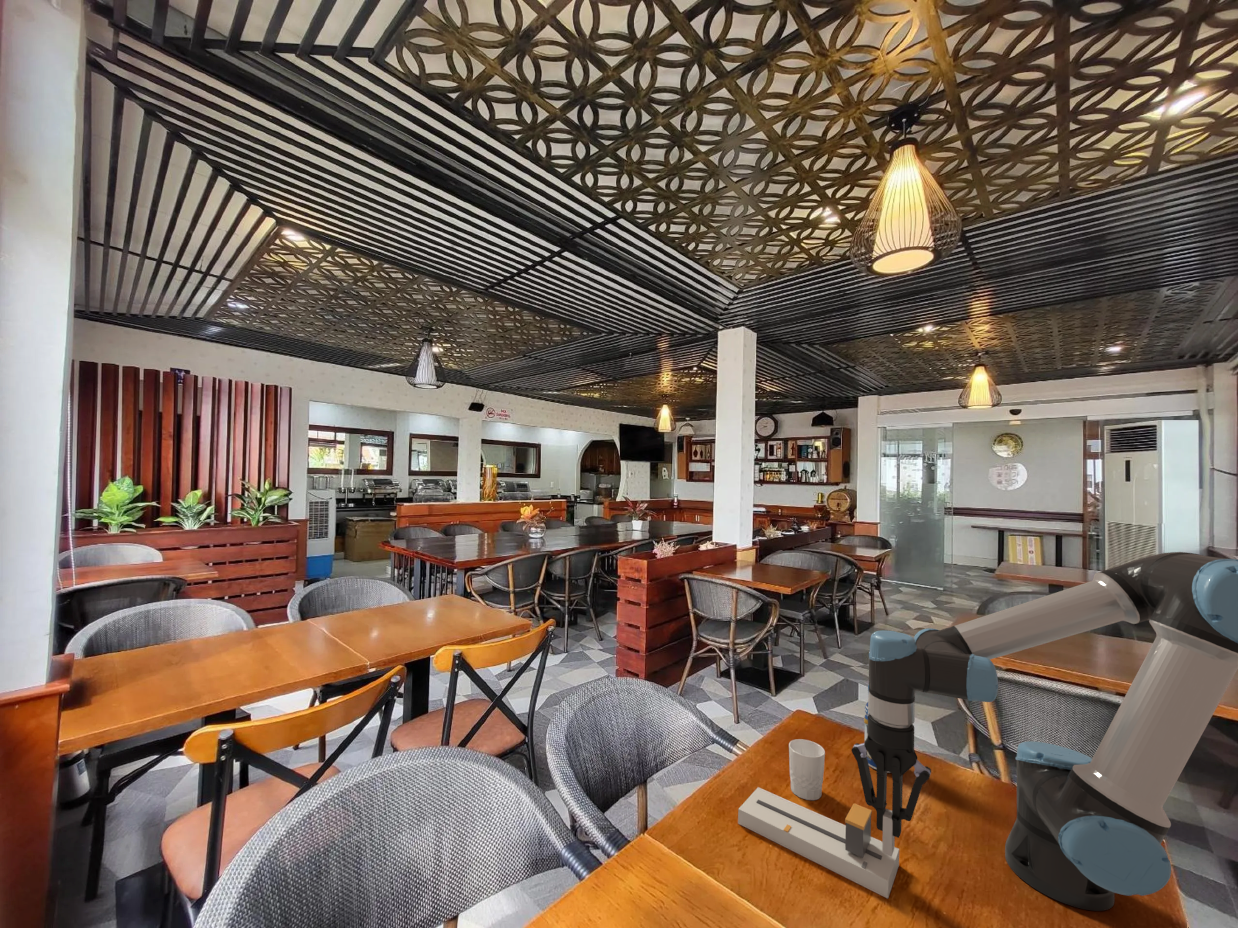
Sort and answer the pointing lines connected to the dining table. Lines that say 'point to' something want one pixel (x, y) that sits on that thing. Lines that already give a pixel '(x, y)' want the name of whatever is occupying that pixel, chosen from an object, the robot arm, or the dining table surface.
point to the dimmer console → (818, 840)
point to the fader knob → (858, 830)
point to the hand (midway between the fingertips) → (888, 850)
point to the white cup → (806, 768)
